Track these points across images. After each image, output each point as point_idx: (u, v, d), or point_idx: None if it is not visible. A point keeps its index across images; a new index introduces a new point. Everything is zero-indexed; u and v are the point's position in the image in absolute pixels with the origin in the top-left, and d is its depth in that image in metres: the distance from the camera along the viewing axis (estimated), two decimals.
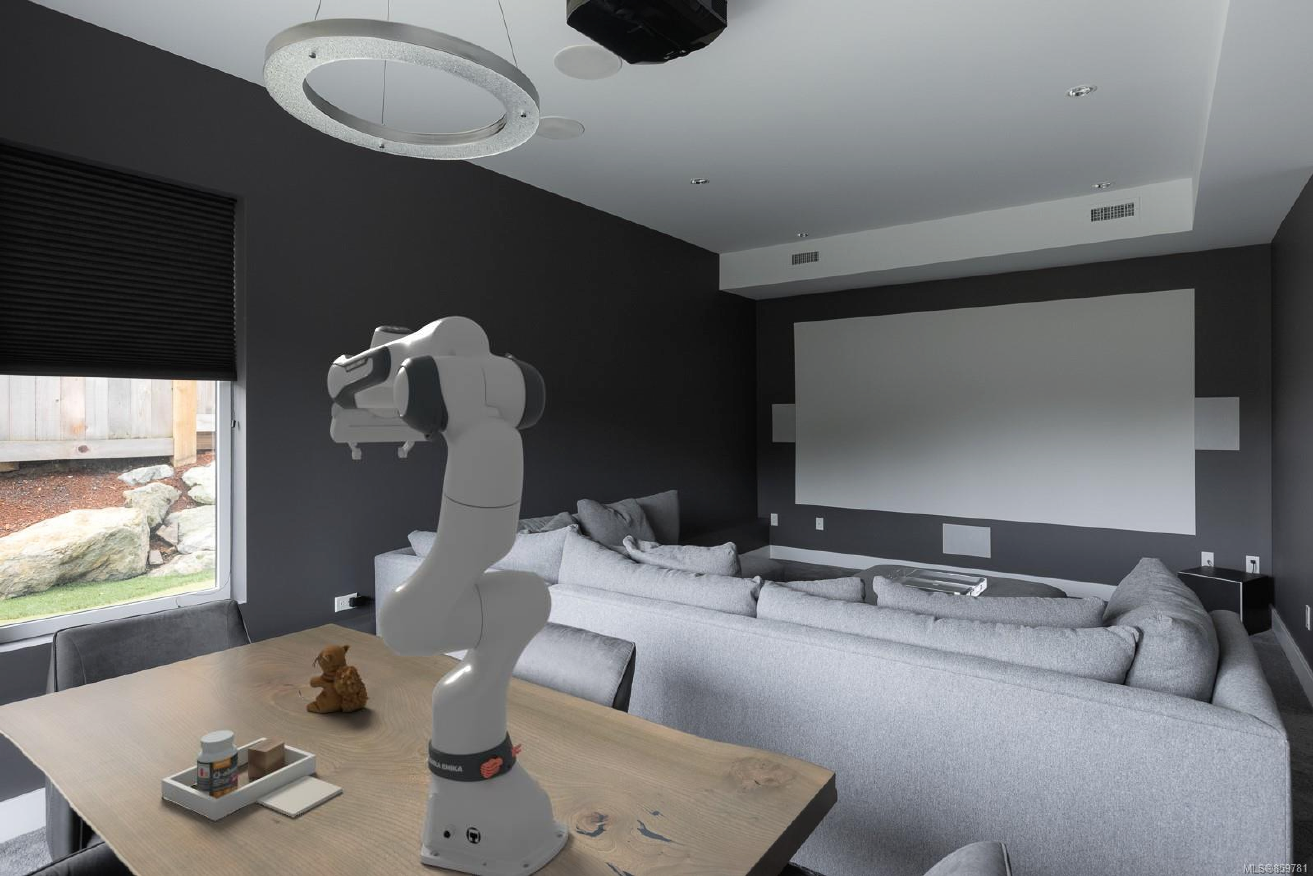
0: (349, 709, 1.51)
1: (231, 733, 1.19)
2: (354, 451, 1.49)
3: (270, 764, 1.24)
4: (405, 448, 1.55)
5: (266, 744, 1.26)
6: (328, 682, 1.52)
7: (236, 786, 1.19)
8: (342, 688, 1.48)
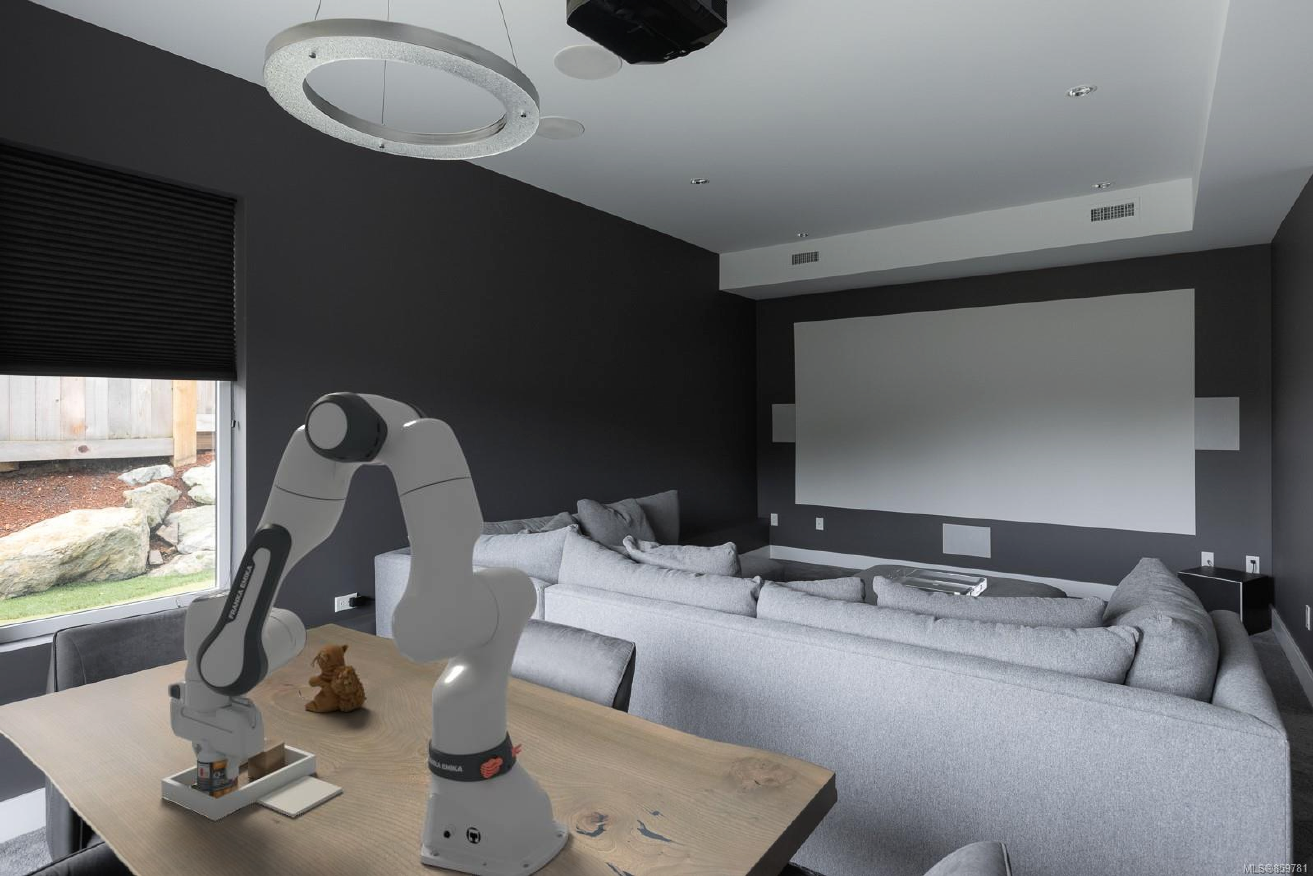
0: (346, 709, 1.51)
1: None
2: None
3: (270, 764, 1.24)
4: None
5: (266, 744, 1.26)
6: (326, 681, 1.53)
7: (236, 786, 1.19)
8: (339, 688, 1.48)
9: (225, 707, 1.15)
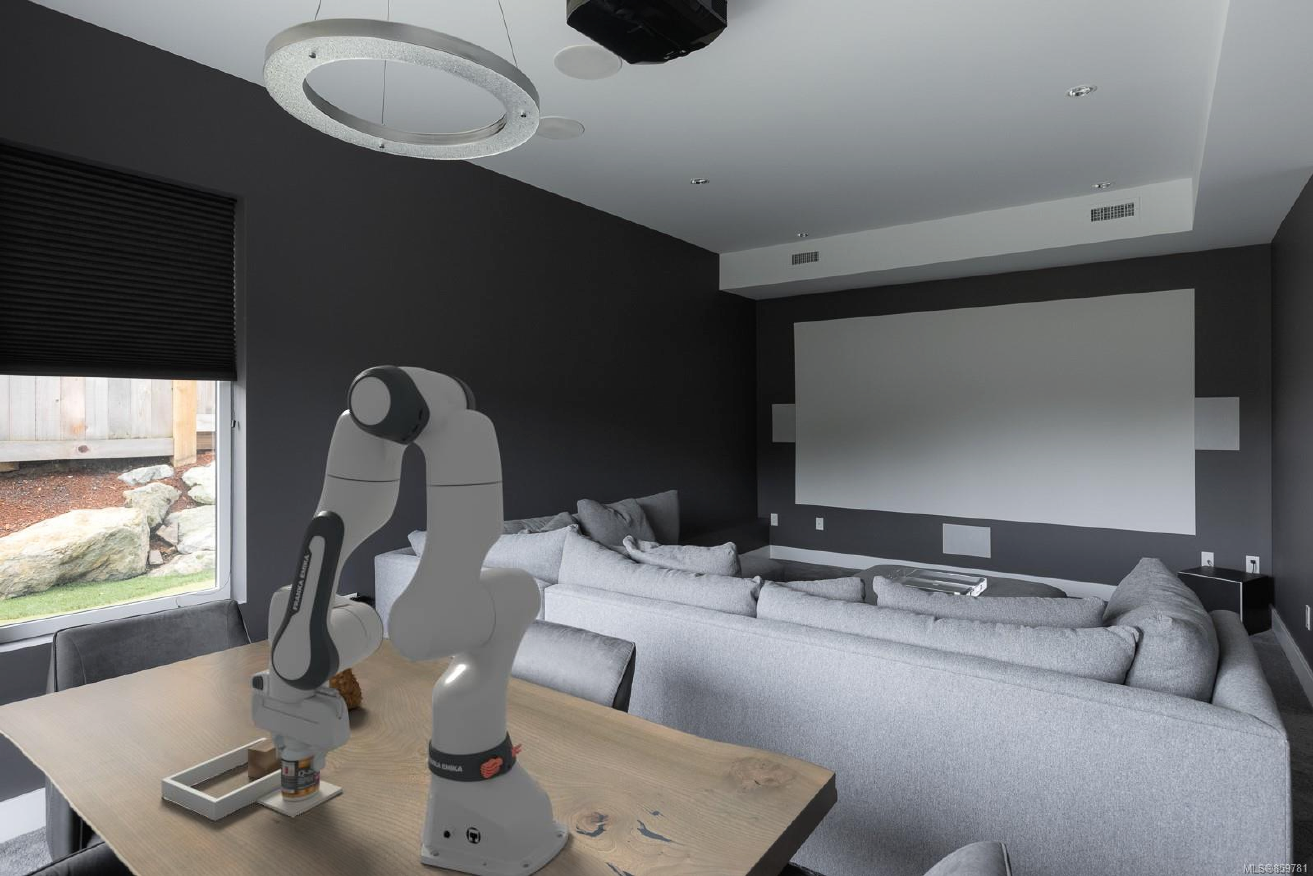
0: None
1: None
2: None
3: (270, 764, 1.24)
4: (284, 742, 1.20)
5: (266, 744, 1.26)
6: None
7: (318, 784, 1.18)
8: (334, 687, 1.49)
9: (310, 698, 1.14)
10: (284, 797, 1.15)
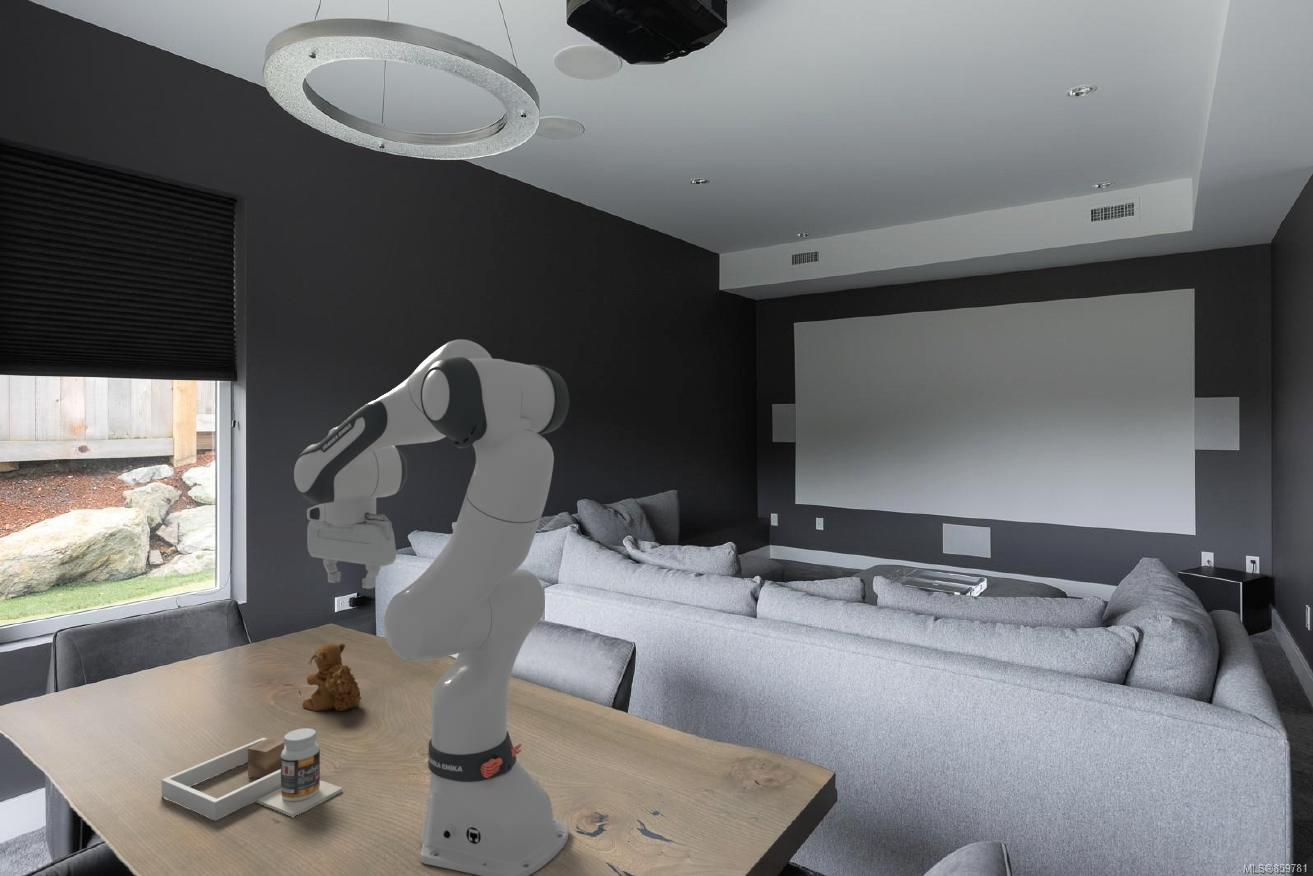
0: (341, 708, 1.51)
1: (313, 731, 1.19)
2: None
3: (270, 764, 1.24)
4: (335, 569, 1.37)
5: (266, 744, 1.26)
6: (322, 680, 1.53)
7: (318, 784, 1.18)
8: (332, 687, 1.49)
9: (361, 523, 1.31)
10: (284, 797, 1.15)
